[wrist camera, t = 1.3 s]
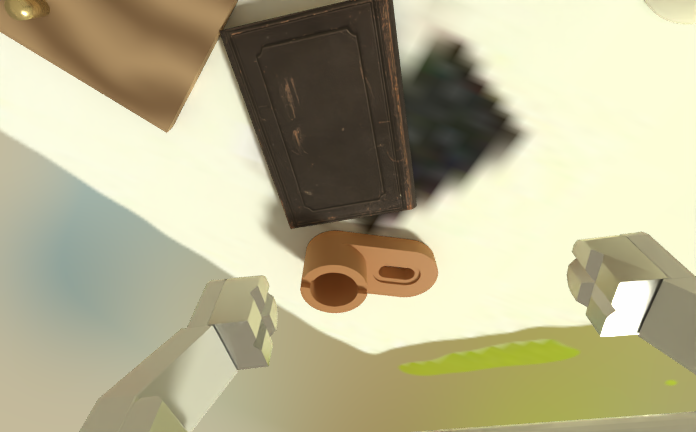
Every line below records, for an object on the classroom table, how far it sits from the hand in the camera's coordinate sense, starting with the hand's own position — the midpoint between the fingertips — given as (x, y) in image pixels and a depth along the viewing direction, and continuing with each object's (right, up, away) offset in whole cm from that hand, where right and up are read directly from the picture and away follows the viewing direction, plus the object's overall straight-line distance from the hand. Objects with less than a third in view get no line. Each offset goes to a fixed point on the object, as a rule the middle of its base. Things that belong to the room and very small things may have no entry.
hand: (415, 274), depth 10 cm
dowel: (-29, +20, +23) cm, 43 cm away
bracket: (+1, -4, +42) cm, 42 cm away
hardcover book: (-4, +12, +31) cm, 34 cm away
